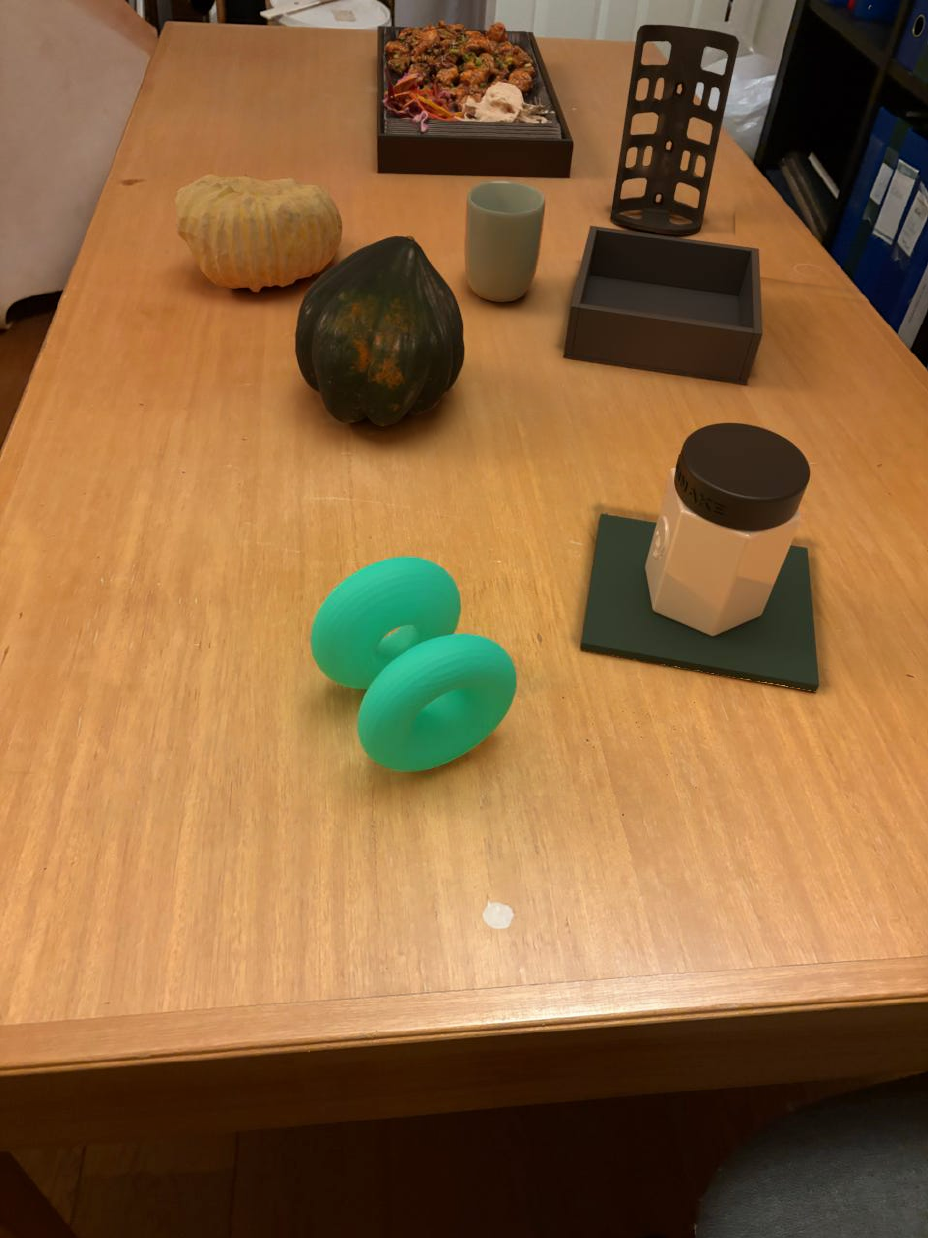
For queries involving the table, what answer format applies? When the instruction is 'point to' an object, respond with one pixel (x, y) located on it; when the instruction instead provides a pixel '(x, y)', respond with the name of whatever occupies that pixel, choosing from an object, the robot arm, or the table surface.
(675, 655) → the mat
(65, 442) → the table surface
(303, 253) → the pale yellow ribbed round
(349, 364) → the squash
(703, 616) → the jar
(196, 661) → the table surface
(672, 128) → the holder
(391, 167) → the food platter
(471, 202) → the cup
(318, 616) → the donuts
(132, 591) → the table surface
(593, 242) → the tub
